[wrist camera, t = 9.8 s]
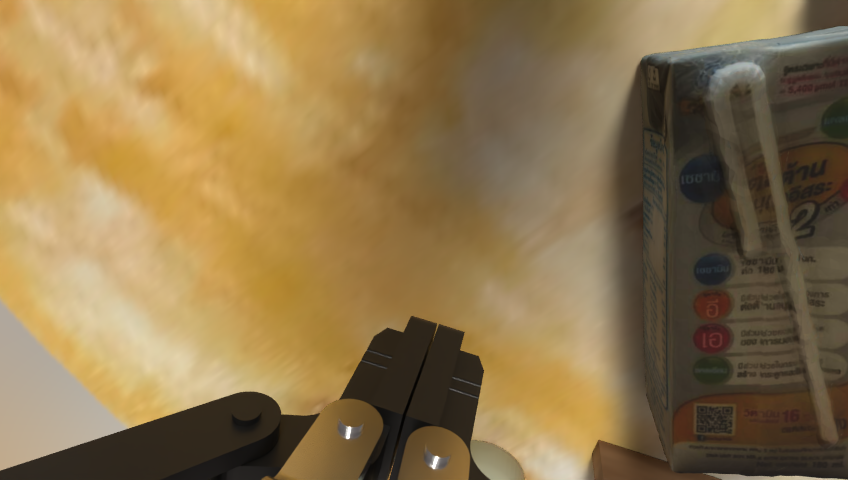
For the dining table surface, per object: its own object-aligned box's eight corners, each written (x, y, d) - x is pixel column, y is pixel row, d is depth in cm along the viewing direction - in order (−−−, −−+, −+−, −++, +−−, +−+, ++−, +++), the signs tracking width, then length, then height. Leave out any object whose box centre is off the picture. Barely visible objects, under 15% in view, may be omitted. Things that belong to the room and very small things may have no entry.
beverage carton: (840, 19, 21) (954, 14, 15) (799, 399, 28) (868, 499, 22) (635, 51, 23) (665, 57, 17) (642, 397, 30) (665, 487, 24)
